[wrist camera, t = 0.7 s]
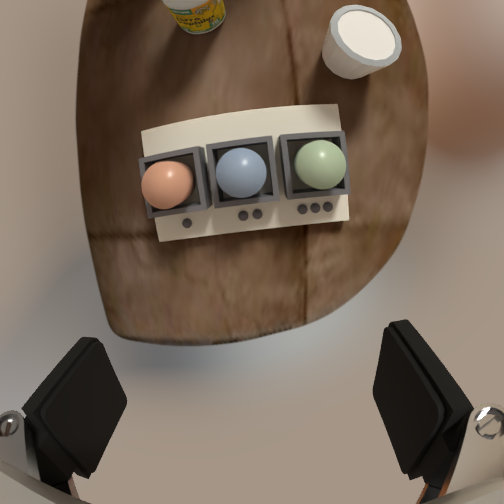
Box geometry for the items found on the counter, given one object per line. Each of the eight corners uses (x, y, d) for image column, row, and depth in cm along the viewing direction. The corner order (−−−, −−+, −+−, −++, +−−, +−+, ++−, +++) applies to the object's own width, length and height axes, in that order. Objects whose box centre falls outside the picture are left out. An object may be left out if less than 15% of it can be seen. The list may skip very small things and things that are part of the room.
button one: (152, 165, 25) (138, 166, 22) (192, 157, 25) (182, 157, 22) (159, 205, 26) (145, 212, 23) (198, 199, 26) (189, 205, 23)
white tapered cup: (385, 58, 24) (413, 38, 17) (355, 96, 25) (381, 81, 19) (336, 21, 22) (353, -7, 16) (303, 58, 24) (315, 32, 18)
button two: (218, 153, 25) (212, 151, 21) (262, 147, 24) (263, 145, 21) (224, 195, 26) (219, 201, 23) (268, 190, 26) (269, 194, 22)
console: (146, 132, 27) (128, 128, 23) (333, 106, 26) (346, 98, 22) (163, 238, 31) (149, 250, 27) (344, 217, 29) (358, 226, 25)
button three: (290, 144, 24) (294, 142, 21) (332, 141, 24) (343, 139, 21) (295, 187, 25) (300, 191, 22) (337, 183, 25) (348, 187, 22)
